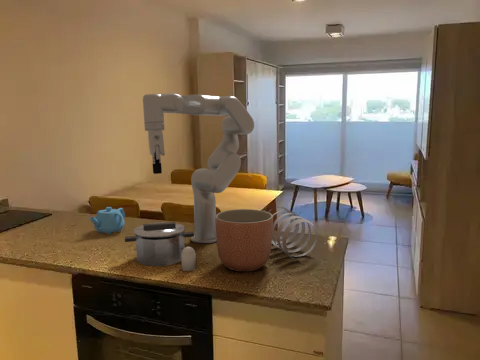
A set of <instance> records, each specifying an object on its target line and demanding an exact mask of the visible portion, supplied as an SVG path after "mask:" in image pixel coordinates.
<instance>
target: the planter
mask: <svg viewBox="0 0 480 360" xmlns="http://www.w3.org/2000/svg"><path fill="white" fill-rule="evenodd" d="M273 224H274V216H273V214H272V213H271V212H269V211H265V210H261V209H260V210H259V209H250V208H246V209H245V208H238V209H237V208H236V209H230V210H229V209H228V210H223V211H220V212H218V213H216V216H215V229H216V242H215V243H216V249H217V253H218V255H217V256H218V258H219V260H220V262H221V263H222V265H224V266H225V267H226V268H228V269H229V270H231V271H236V272H253V271H256V270H258V269H261V268H262V267H263V266H264V265H265V264H266V263H267V262H268V260H269V259H270V256H271V250H272V244H273V243H272V241H273V239H272V230H273Z"/></svg>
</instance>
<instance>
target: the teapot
mask: <svg viewBox="0 0 480 360" xmlns="http://www.w3.org/2000/svg"><path fill="white" fill-rule="evenodd" d="M125 218H126V213H125V210H124V208H123V207H119V208H117V209H116V208H113V207H112V206H106V207H105V209H100V210H97V211H96V216H90V218H89V221H90V222H91V223H93V228H94V229H95V231H97V232H98V234H103V233H106V235H107V236H109V235H110V236H111V235H113V233H114V232H118V233H119V232H122V229H123V228H124V227H125V224H126V223H125Z"/></svg>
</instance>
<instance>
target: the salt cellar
mask: <svg viewBox="0 0 480 360" xmlns="http://www.w3.org/2000/svg"><path fill="white" fill-rule="evenodd" d="M181 270H182V271H184V272H185V271H186V272H189V271H190V272H191V271H194V270H196V251H195V249H194V247H192V246H186V247H185V246H184V249H183V250H182V252H181Z"/></svg>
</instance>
